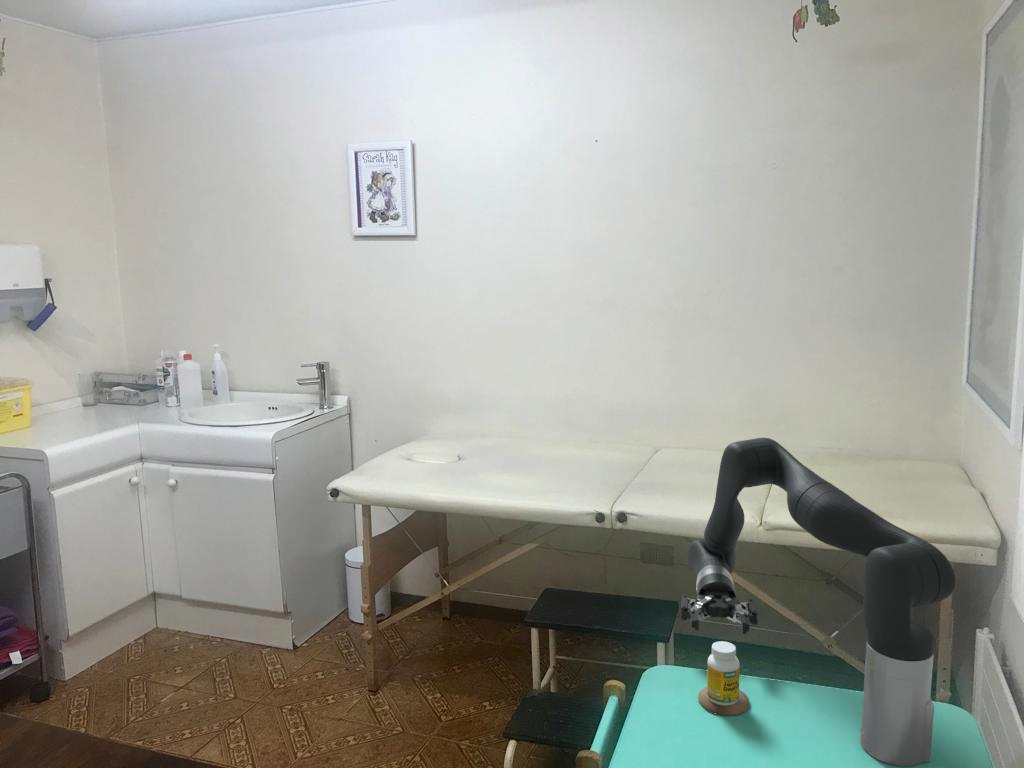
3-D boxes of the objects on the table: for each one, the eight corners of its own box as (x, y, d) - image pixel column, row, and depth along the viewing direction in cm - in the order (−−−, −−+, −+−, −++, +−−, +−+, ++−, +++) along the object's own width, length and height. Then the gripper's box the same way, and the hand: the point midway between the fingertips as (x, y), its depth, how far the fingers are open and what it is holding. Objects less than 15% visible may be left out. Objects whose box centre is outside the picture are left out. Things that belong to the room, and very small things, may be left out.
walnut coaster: (746, 690, 143) (746, 686, 143) (751, 718, 135) (751, 714, 135) (697, 686, 145) (697, 682, 145) (699, 713, 137) (699, 710, 137)
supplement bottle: (721, 686, 144) (723, 635, 142) (745, 700, 139) (747, 648, 137) (700, 696, 141) (701, 644, 139) (723, 710, 136) (725, 658, 135)
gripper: (680, 570, 165) (681, 606, 150) (752, 574, 163) (761, 611, 147) (679, 604, 167) (680, 643, 151) (751, 609, 164) (760, 649, 148)
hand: (720, 627), depth 149 cm, fingers open, 8 cm apart
